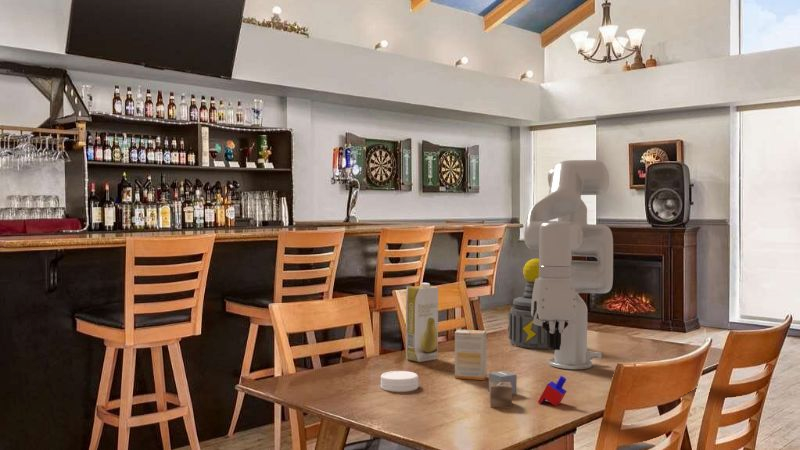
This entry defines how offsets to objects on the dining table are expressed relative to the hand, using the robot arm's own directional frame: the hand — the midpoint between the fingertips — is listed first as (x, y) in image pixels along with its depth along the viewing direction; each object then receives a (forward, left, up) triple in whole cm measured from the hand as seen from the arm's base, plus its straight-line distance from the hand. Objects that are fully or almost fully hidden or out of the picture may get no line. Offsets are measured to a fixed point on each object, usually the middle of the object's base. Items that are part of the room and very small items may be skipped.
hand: (553, 348), depth 169 cm
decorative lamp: (-30, -69, -14) cm, 77 cm away
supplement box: (+10, -29, -14) cm, 34 cm away
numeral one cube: (+8, -12, -13) cm, 20 cm away
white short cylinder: (+32, -24, -14) cm, 42 cm away
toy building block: (0, 0, -14) cm, 14 cm away
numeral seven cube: (+13, -2, -13) cm, 19 cm away
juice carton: (+16, -55, -14) cm, 59 cm away
